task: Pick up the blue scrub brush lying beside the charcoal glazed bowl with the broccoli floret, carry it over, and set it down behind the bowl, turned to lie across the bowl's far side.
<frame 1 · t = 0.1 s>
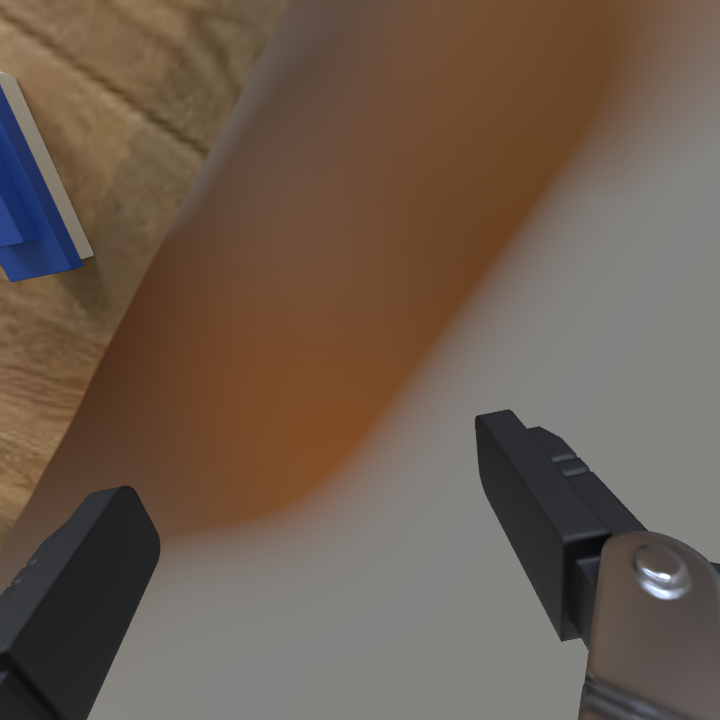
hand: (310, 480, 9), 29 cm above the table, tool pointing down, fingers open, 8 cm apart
brush: (31, 178, 32), on the table
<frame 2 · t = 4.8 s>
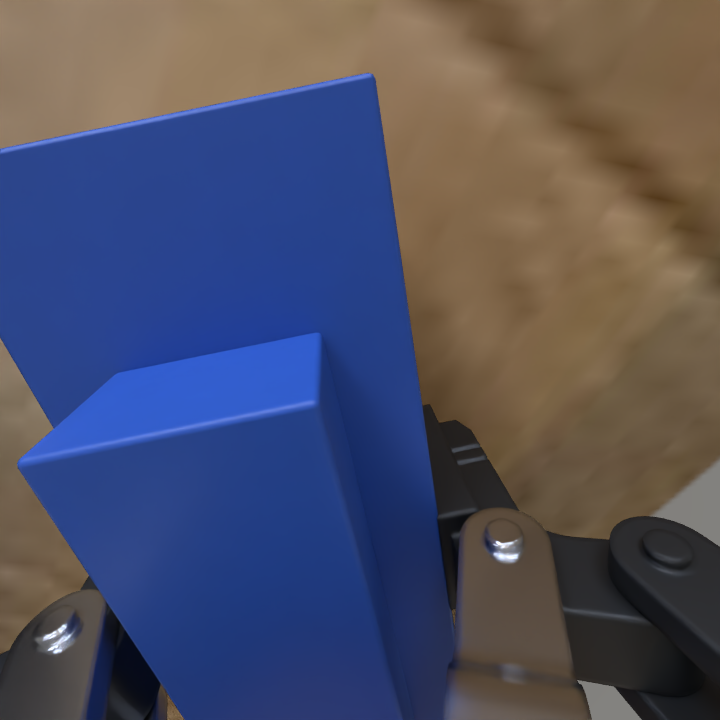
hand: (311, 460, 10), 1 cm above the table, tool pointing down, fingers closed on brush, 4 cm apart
brush: (313, 446, 11), on the table, touching gripper
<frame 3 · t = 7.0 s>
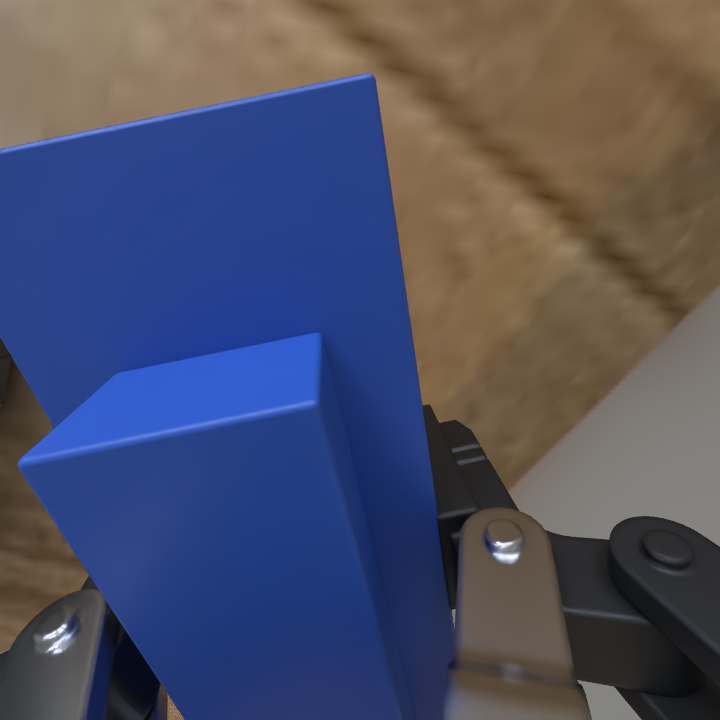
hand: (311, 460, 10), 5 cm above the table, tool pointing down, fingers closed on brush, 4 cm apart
brush: (313, 446, 11), point 5 cm above the table, touching gripper
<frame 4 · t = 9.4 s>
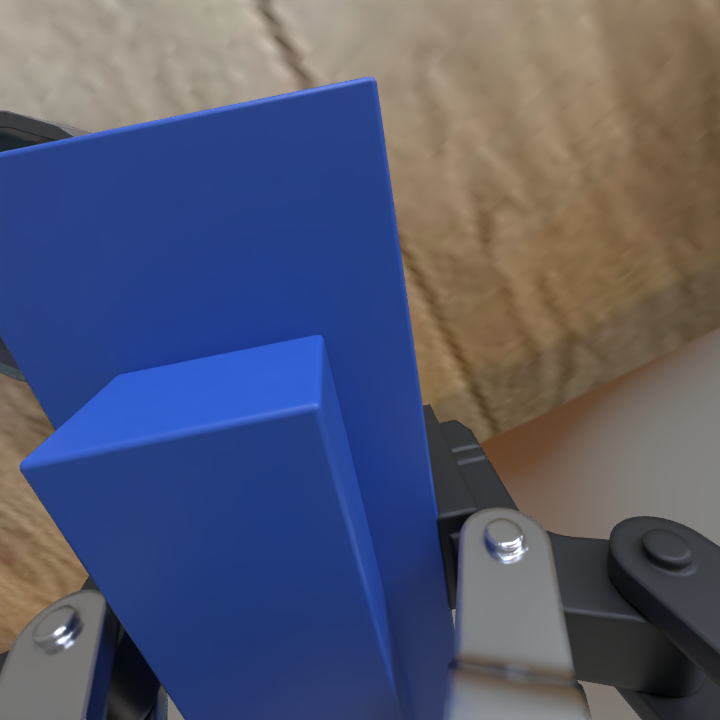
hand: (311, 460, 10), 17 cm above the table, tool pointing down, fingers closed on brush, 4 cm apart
bowl: (96, 250, 24), on the table
brush: (313, 447, 11), point 17 cm above the table, touching gripper
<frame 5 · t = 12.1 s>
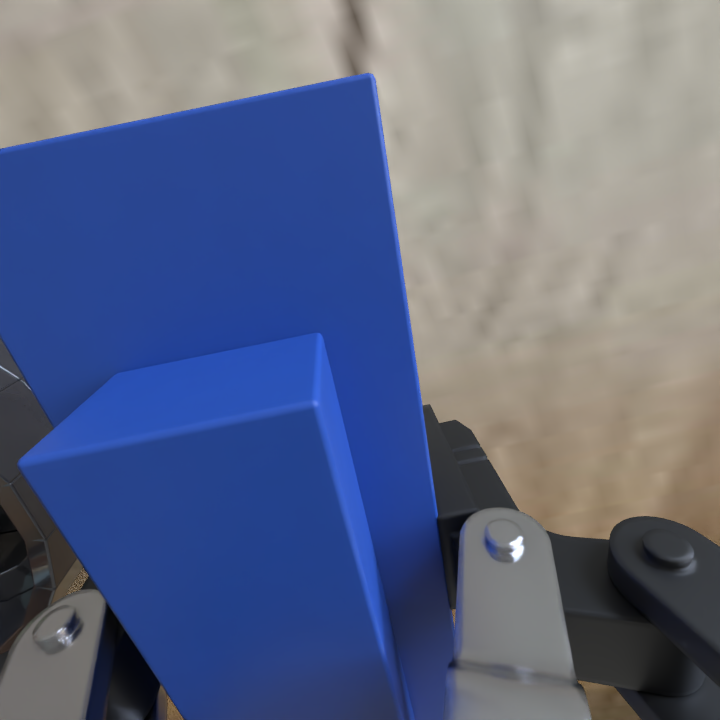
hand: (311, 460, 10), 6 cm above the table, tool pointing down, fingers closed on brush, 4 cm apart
brush: (313, 446, 11), point 5 cm above the table, touching gripper
when the fingers open (1 cm above the table, at t = 14.0 s): brush stays where it is, on the table.
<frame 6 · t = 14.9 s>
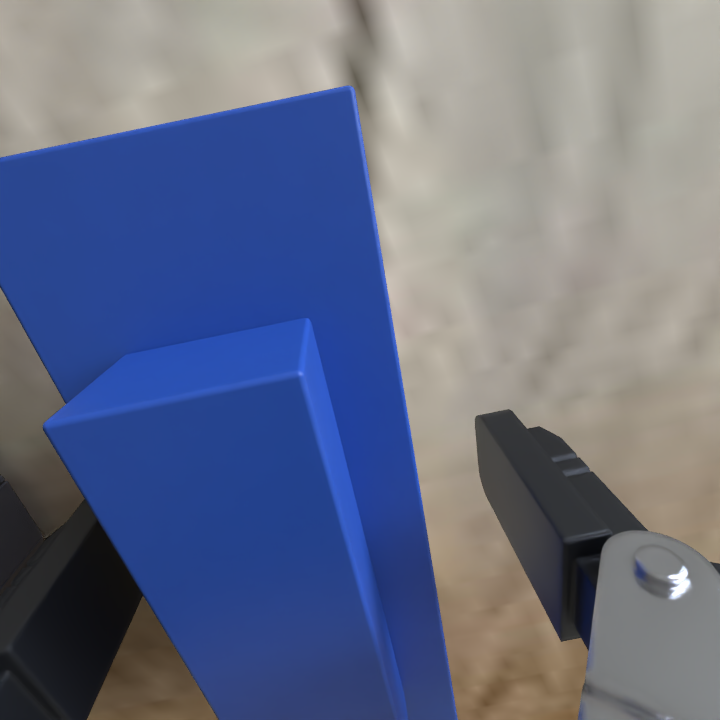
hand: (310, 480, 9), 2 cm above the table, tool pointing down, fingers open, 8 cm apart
brush: (307, 433, 11), on the table
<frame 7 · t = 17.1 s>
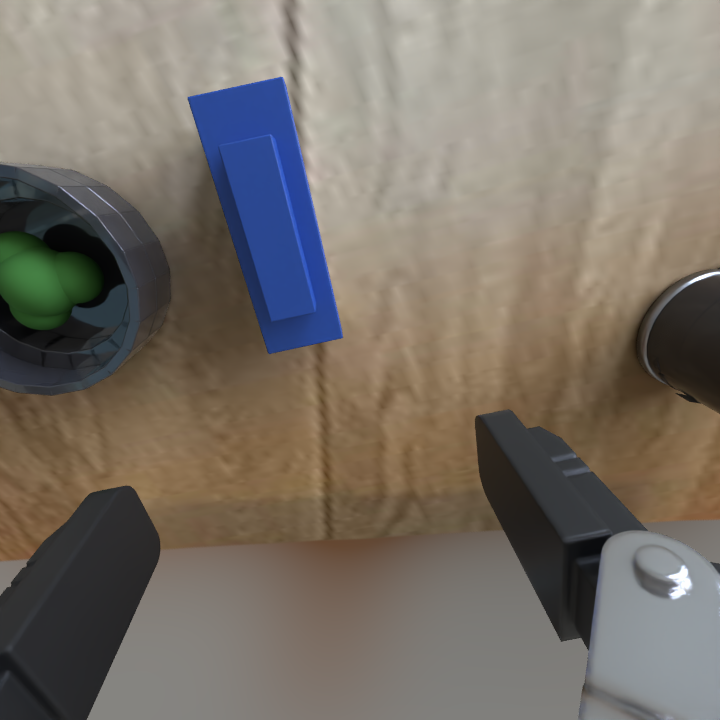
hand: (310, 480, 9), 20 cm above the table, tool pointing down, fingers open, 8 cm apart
bowl: (73, 271, 26), on the table
brush: (281, 226, 26), on the table
broccoli floret: (69, 272, 26), resting on bowl
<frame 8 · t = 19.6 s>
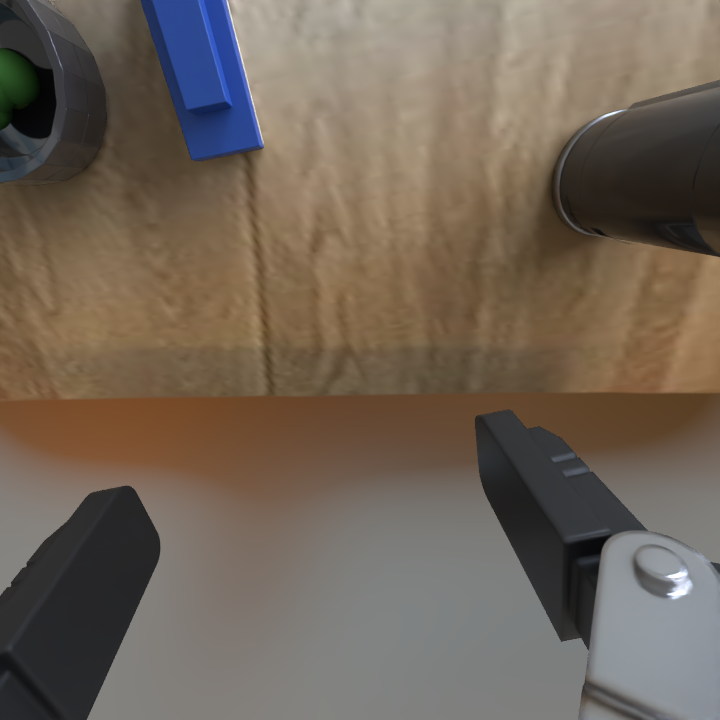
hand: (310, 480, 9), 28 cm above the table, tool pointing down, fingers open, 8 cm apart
bowl: (17, 89, 29), on the table
brush: (207, 48, 29), on the table
broccoli floret: (11, 87, 28), resting on bowl
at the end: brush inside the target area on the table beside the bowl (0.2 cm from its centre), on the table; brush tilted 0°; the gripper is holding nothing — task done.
